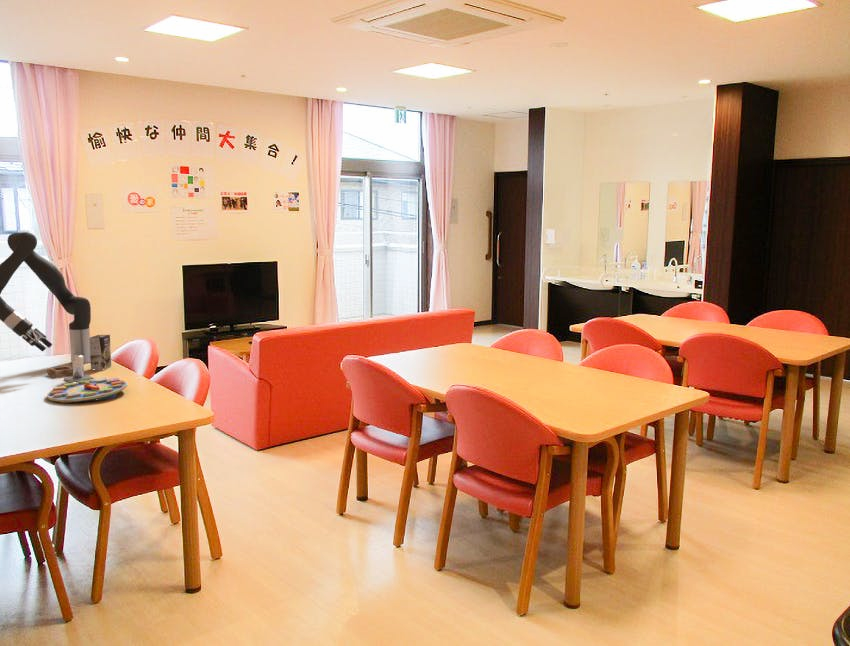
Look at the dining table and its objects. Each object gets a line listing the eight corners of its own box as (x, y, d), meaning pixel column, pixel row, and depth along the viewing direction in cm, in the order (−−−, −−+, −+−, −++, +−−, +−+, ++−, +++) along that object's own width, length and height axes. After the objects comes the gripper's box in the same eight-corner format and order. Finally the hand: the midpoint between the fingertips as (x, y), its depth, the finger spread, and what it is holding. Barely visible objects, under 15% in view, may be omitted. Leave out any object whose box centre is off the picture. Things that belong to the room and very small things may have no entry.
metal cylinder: (81, 376, 331) (80, 354, 330) (85, 377, 328) (85, 356, 327) (71, 377, 328) (70, 355, 326) (75, 379, 325) (75, 357, 323)
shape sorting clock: (47, 391, 308) (46, 377, 307) (124, 384, 322) (123, 371, 321) (46, 408, 281) (45, 393, 280) (131, 400, 295) (130, 386, 294)
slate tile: (83, 376, 334) (83, 374, 334) (93, 379, 329) (93, 377, 329) (64, 380, 327) (64, 377, 327) (73, 383, 322) (73, 380, 322)
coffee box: (103, 370, 348) (101, 337, 346) (90, 370, 348) (88, 337, 346) (112, 366, 357) (110, 334, 355) (99, 366, 357) (97, 334, 355)
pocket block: (67, 371, 344) (66, 365, 344) (76, 374, 338) (76, 368, 338) (47, 375, 337) (47, 368, 337) (56, 377, 331) (56, 371, 331)
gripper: (18, 320, 316) (48, 345, 320) (29, 315, 330) (58, 339, 334) (6, 332, 316) (36, 357, 320) (18, 327, 330) (47, 350, 334)
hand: (47, 348), depth 327 cm, fingers open, 8 cm apart
